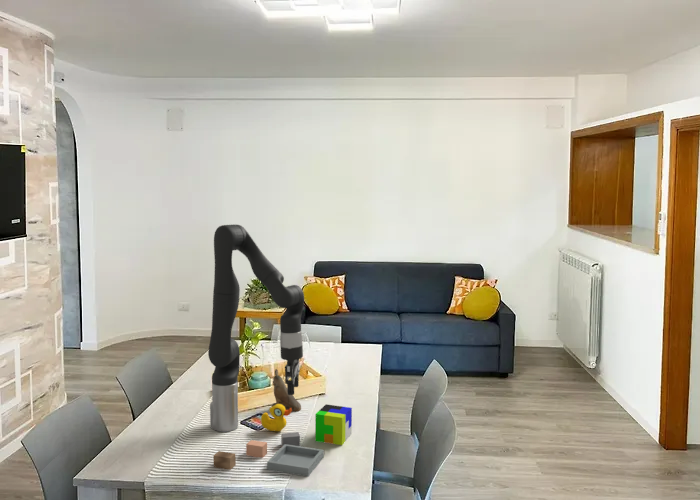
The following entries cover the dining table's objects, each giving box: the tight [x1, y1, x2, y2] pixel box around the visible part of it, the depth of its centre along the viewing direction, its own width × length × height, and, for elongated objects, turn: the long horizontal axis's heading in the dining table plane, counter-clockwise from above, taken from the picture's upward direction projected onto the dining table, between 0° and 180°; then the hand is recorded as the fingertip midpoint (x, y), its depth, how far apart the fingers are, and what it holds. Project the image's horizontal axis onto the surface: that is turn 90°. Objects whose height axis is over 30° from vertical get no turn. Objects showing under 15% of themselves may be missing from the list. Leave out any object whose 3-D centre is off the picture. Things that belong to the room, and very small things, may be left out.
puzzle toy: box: [314, 404, 353, 446], centre depth 224 cm, size 10×10×10 cm
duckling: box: [260, 404, 292, 432], centre depth 230 cm, size 11×5×10 cm, turn 82°
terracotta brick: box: [245, 439, 268, 459], centre depth 211 cm, size 6×4×4 cm, turn 72°
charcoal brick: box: [280, 431, 301, 447], centre depth 218 cm, size 6×4×4 cm, turn 103°
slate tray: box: [266, 444, 325, 477], centre depth 204 cm, size 14×14×3 cm
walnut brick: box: [212, 450, 237, 471], centre depth 202 cm, size 6×4×4 cm, turn 72°
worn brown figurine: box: [270, 368, 302, 413], centre depth 251 cm, size 12×6×18 cm, turn 81°
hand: (293, 390), depth 216 cm, fingers open, 8 cm apart
